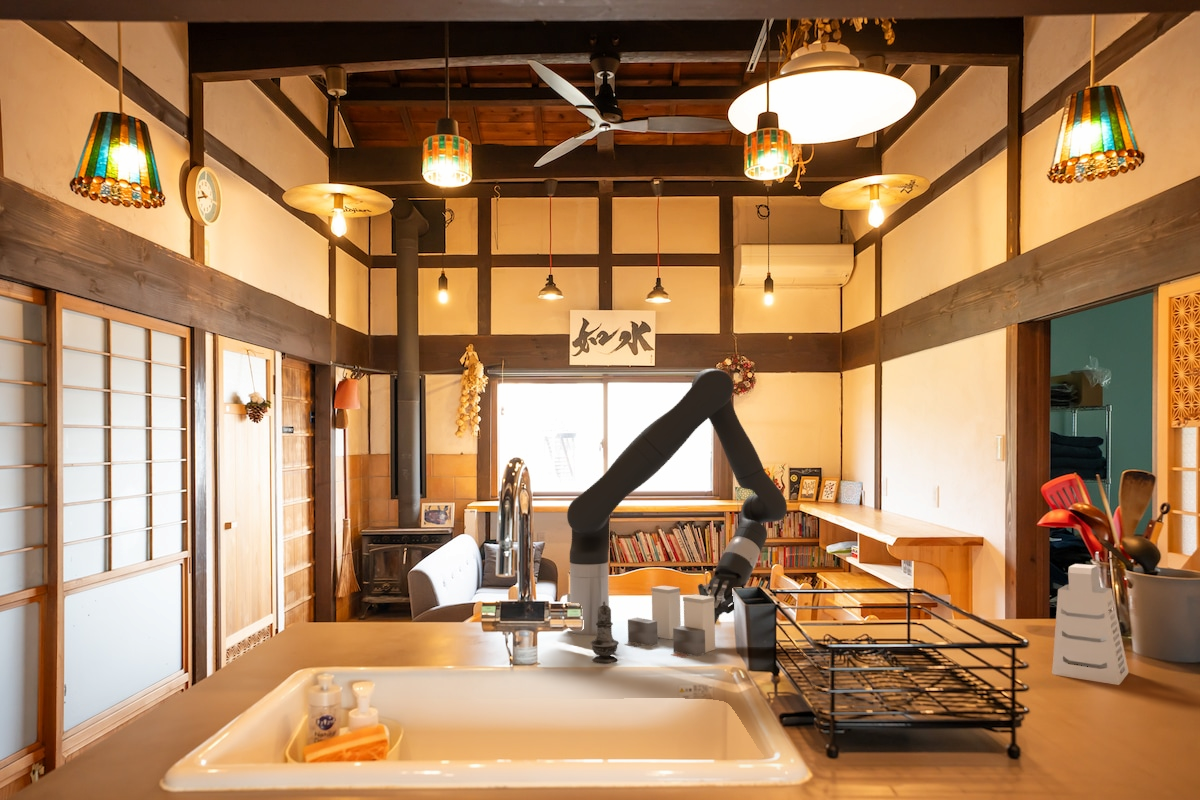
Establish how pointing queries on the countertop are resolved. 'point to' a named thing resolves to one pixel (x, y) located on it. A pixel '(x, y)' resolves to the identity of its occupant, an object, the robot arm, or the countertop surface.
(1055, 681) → the countertop surface
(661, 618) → the tall cream pillar
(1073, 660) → the grater
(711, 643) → the tall white box
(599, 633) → the salt shaker
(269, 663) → the countertop surface
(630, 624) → the dark grey rectangular blocks
